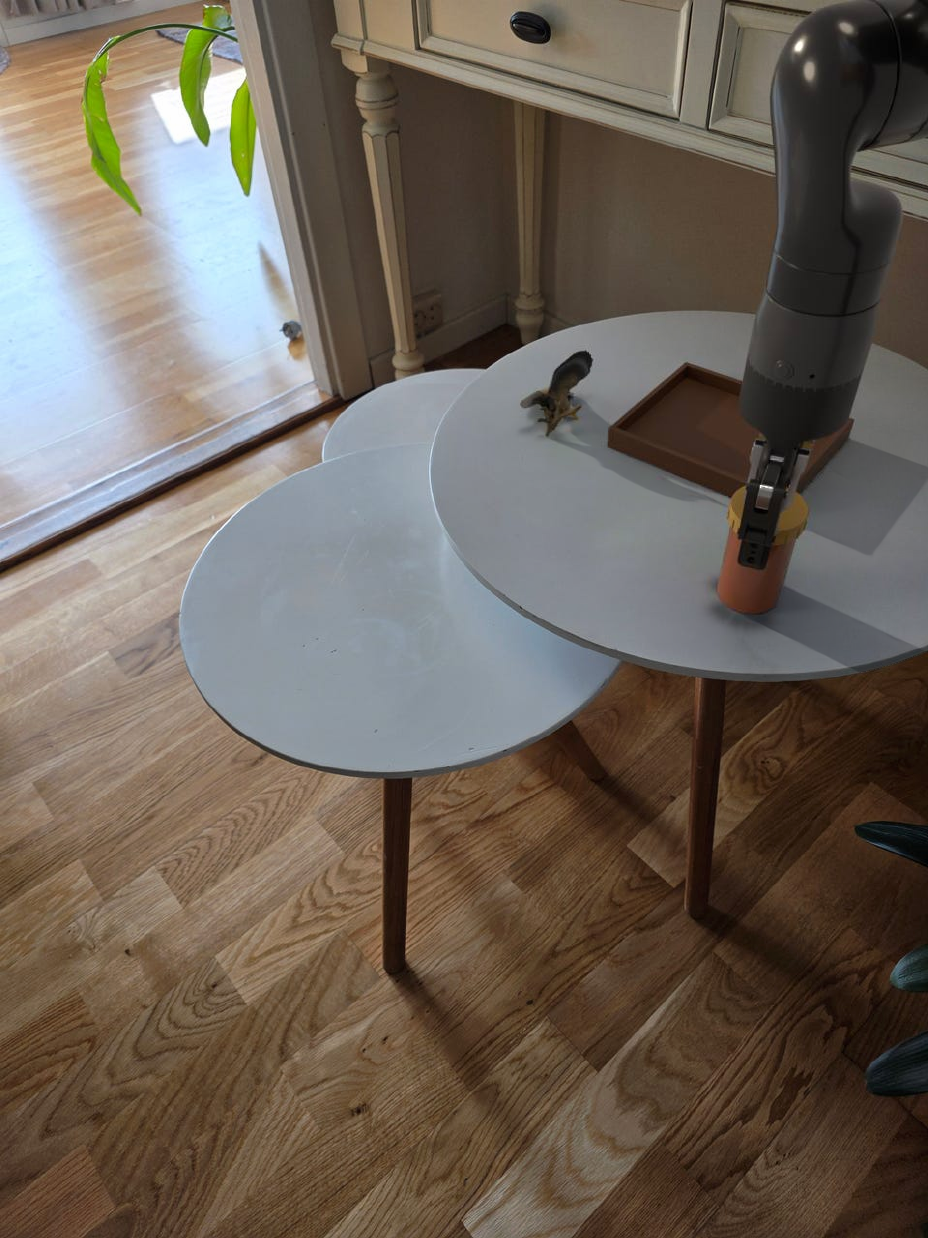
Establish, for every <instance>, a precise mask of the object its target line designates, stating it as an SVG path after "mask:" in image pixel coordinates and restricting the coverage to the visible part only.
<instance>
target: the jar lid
mask: <svg viewBox="0 0 928 1238" xmlns="http://www.w3.org/2000/svg"><path fill="white" fill-rule="evenodd" d="M745 489H746V486H744V487H742V488H740V489H739V490H737V491H736V492H735V493H734V495H733V496H732V498H731V497H730V500H729V504H728V510H727V515H726V520H727V522H728V525H729V527H730V526H731V529H733V531H734V532H735V533H737V531H738V528H740V523H741V518H742V513H743V508H744V503H745V499H744V492H745ZM787 491H788V487H787V488H786V492H787ZM809 512H810V511H809V504H808V503H807V501H806V499H805V498H804V497H803V496H802V495H801V493H800V494H798V493H797V492H795V495H794V498H793V502H792V504H791V506H790V508H789V509H787V510H784V511H782V515H781V518H780V521H779V525H778V528H779V532H778V534H776V535H775V536H776V539H775V542H774V543H772V545H782V544H786V543H789V542H791V541H793V540H795V539H796V540H798V539H799V537H800V536H802V534H803V532H804V531H806V527H807V524H808V517H809Z"/></svg>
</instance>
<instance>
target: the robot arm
mask: <svg viewBox="0 0 928 1238" xmlns="http://www.w3.org/2000/svg"><path fill="white" fill-rule="evenodd" d="M769 115H770V116H769V117H770V126H771V137H772V146H773V158H774V174H775V175H774V176H775V177H774V179H775V196H776V197H775V198H776V229H775V233H774V239H773V244H772V248H771V253H770V259H769V264H768V270H767V274H766V279H765V284H764V289H763V292H762V294H761V297H760V301H759V304H758V306H757V308H756V309H757V310H756V313H755V316H754V321H753V325H752V331H751V334H750V335H751V336H750V340H749V346H748V350H747V351H748V352H747V356H746V362H745V367H744V372H743V377H742V380H741V381H742V387H741V392H740V397H739V409H740V412H741V414H742V416H743V418H744V419H745V420H746V422H747V423H748V424H750V425H751V426H752V427H753V428H755V429H757V430H758V431H759V432H760V433H759V439H757V438H756V439H755V442H754V445H753V448H752V452H751V456H750V462H751V464H752V466H751V470H750V473H749V477H748V481H747V485H746V489H745V492H744V499H745V503H744V508H743V513H742V518H741V523H740V528H738V531H737V534H738V539H739V540H742V541H741V546H740V550H739V555H738V559H737V562H738V563H739V564H740V565H741V566H745V567H749V568H753V569H757V570H763V569H765V567H766V564H767V562H768V558H769V554H770V550H771V546H772V543H774V542H775V539H776V536H775V535H776V534H778V532H779V528H778V525H779V521H780V518H781V515H782V511H784V510H787V509H789V508H790V506H791V504H792V502H793V498H794V495H795V492H796V488H797V485H798V481H799V478H800V474H802V473H803V472H804V471H805V469H806V466H807V463H808V460H809V456H810V453H811V451H812V449H813V445H814V442H815V440H817V439H821V438H825V437H827V436H830V435H832V434H834V433H836V432H837V431H839V430H840V429H841V428H842V427H843V426H844V425H845V424H846V422H847V421H848V419H849V418H850V416H851V413H852V410H853V406H854V402H855V400H856V396H857V393H858V389H859V387H860V383H861V380H862V377H863V374H864V370H865V367H866V363H867V361H868V357H869V353H870V351H871V347H872V344H873V340H874V337H875V333H876V329H877V324H878V318H879V311H880V305H881V300H882V296H883V293H884V290H885V286H886V283H887V280H888V276H889V274H890V269H891V267H892V263H893V261H894V257H895V254H896V250H897V246H898V243H899V240H900V236H901V230H902V226H903V221H904V211H903V205H902V202H901V201H900V199H899V197H898V196H897V195H896V194H895V193H894V192H893V191H892V190H890V189H889V188H887V187H886V186H883V185H881V184H878V183H874V182H871V181H867V180H861V179H855V178H852V177H851V175H852V166H853V163H854V159H855V157H856V154H857V153H860V152H861V153H862V152H866V151H870V150H876V149H881V148H886V147H891V146H895V145H901V144H906V143H911V142H916V141H919V140H923V139H925V138H928V0H847V1H842V2H837V3H831V4H828V5H826V6H823V7H820V8H817V9H815V10H814V11H812V12H811V13H809V14H808V15H806V16H805V17H804V18H803V19H802V20H801V21H800V22H799V23H798V25H797V26H796V27H794V29H793V31H792V32H791V33H790V35H789V37H788V38H787V40H786V42H785V43H784V45H783V47H782V49H781V51H780V53H779V55H778V58H777V61H776V63H775V66H774V69H773V72H772V77H771V81H770V91H769ZM758 472H759V476H758ZM757 476H758V478H759V480H756V479H757ZM790 479H791V480H790ZM787 487H788V491H787V492H786V488H787Z"/></svg>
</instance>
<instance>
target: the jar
mask: <svg viewBox="0 0 928 1238" xmlns="http://www.w3.org/2000/svg"><path fill="white" fill-rule="evenodd" d="M741 541H742V540H739V539H738V534H737V533H735V532H734V531H733V529H731V526H730V525H729V529H728V533H727V539H726V544H725V549H724V552H723V557H722V563H721V567H720V572H719V577H718V582H717V587H716V590H717V596H718V597H719V599H720V601H721V602H722V603H723V604H724V605H725V606H727V607H728V608H729V609H731V610H733V611H736V612H739V613H742V614H747V615H759V614H763V613H766V612H769V611H771V610H772V609H774V608H775V607H776V606H777V605H778V604H779V601H780V597H781V594H782V590H783V587H784V584H785V581H786V577H787V574H788V569H789V566H790V563H791V560H792V556H793V552H794V548H795V545H796V541H797V539H795V540H793V541H791V542H789V543H786V544H782V545H772V546H771V550H770V554H769V558H768V562H767V564H766V567H765V569H763V570H757V569H753V568H749V567H745V566H741V565H740V564H739V563H738V562H737V559H738V555H739V550H740V546H741Z"/></svg>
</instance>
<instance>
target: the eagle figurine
mask: <svg viewBox="0 0 928 1238" xmlns="http://www.w3.org/2000/svg"><path fill="white" fill-rule="evenodd" d="M593 361H594V359H593V357H592V354H591V353H590V352H589V351H588V350H579V351H576V352H573V354H571V355H570V356H569V357H568V358H566V359H565V360H563V361H562V362H561V363H560V364H559V365H558V366H557V367H556V368H555V369H554V371H553V372H552V374H551V375H552V376H551V380H550V382H549V383H550V384H549V385H548V386H547V387H544V388H542V389H540V390H536V391H534V392H531V393H529V394H528V395H526V396H524V397H522V398H521V399H520V402H519V406H520V407H521V408H522V409H529V408H532V407H533V406H536V405H537V406H540V407H539V410H540V411H542V412H543V414H544V417H545V418H544V417H539V418H538V419H536V422H538V423H545V424H546V431H545V437H549V436H550V435H551V433H552V432H553V431H555V430H556V428H557V427H558V424H559V423H560V422H561V421H562V420H563V419H565V418H567V417H569V416H570V417H572V418H574V419H576V420H579V417H578V414H577V413H578V412H579V411H580V409H581V408H582V407H583V406H582V405H581V404H578V405H577V406H575V407H574V406H573V405H572V404H571V403H570V402H569V399H568V397H569V396H574V395H575V393H573V392H571V390H573V388H575V387H577V386H578V385H579V383H580V382H581V381H582V380H584V379H585V378H587V377H588V376H589V375H590V373H591V368H592V366H593Z"/></svg>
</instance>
